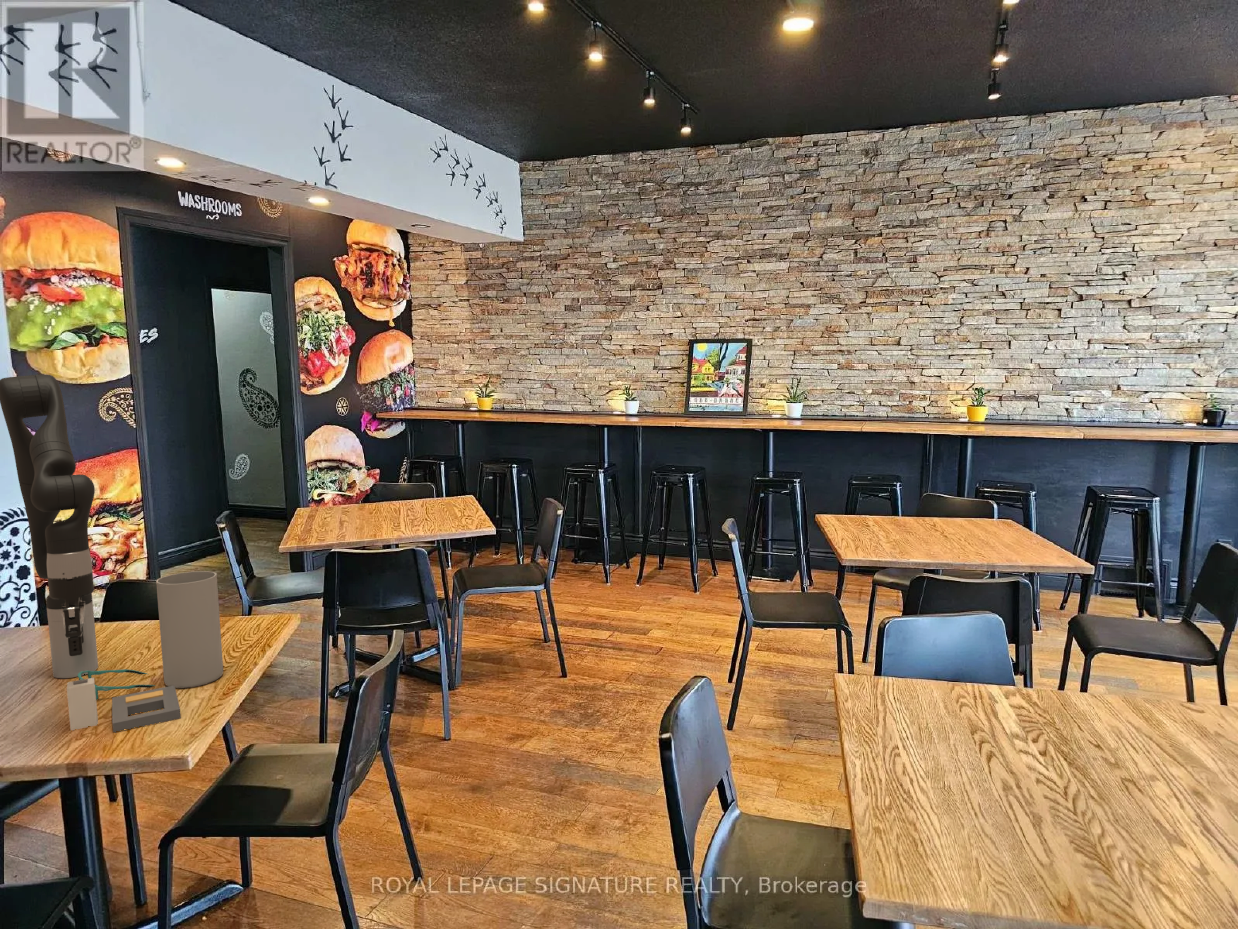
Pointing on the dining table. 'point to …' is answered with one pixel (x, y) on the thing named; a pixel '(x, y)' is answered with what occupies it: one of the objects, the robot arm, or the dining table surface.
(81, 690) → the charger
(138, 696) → the plate
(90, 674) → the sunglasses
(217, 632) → the cylinder vase
